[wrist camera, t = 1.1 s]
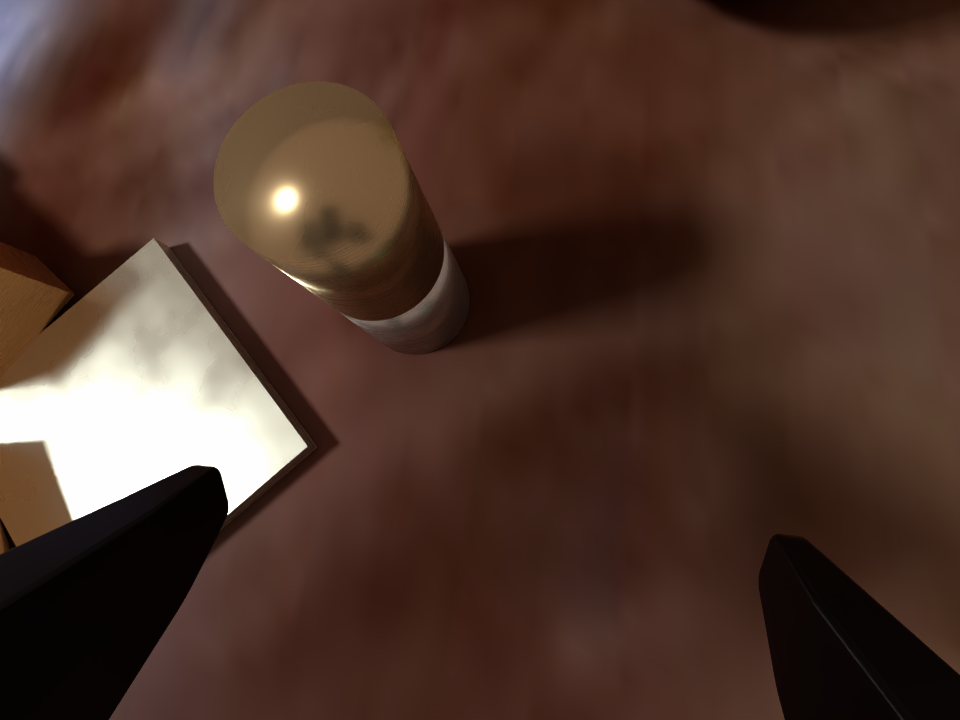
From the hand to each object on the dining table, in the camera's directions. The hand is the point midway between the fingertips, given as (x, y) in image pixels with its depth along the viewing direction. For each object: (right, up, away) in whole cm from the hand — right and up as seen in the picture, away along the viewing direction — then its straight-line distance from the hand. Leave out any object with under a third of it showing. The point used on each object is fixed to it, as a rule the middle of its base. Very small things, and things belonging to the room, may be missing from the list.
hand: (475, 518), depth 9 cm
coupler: (-3, +5, +15) cm, 16 cm away
